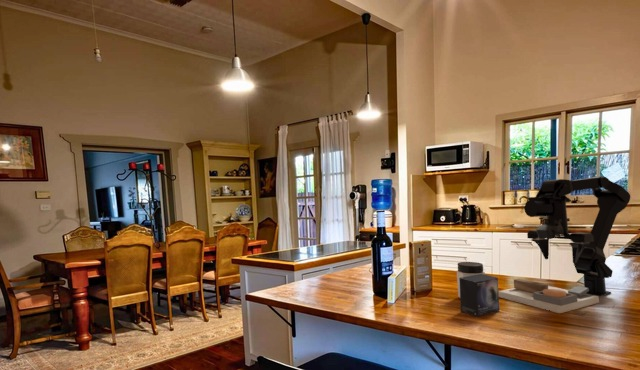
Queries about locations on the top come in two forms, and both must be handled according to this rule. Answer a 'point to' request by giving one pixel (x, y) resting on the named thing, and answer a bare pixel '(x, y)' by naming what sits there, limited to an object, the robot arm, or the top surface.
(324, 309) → the top surface
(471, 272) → the jar
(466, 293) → the small box
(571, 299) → the panel
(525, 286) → the slider bar
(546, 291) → the push button
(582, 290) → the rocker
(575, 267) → the robot arm
